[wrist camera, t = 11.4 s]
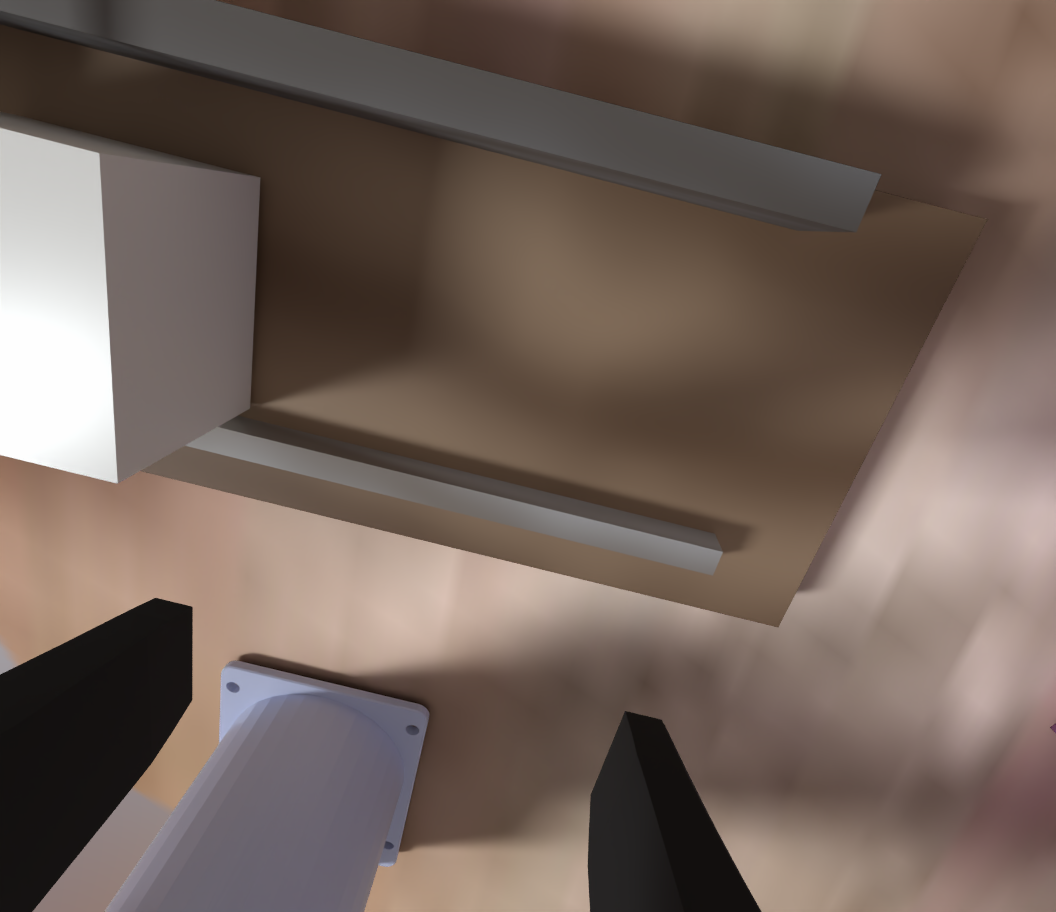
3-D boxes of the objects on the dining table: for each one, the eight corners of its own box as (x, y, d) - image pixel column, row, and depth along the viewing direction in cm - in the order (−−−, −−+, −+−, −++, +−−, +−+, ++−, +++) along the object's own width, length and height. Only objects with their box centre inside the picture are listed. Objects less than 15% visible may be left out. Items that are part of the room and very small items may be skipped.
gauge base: (763, 597, 19) (896, 861, 11) (-126, 379, 18) (-646, 494, 11) (947, 219, 14) (1397, 213, 6) (-231, -87, 14) (-1294, -498, 6)
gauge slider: (249, 408, 16) (117, 483, 11) (40, 356, 16) (-181, 410, 11) (266, 45, 13) (88, -58, 8) (0, -24, 12) (-339, -170, 8)
